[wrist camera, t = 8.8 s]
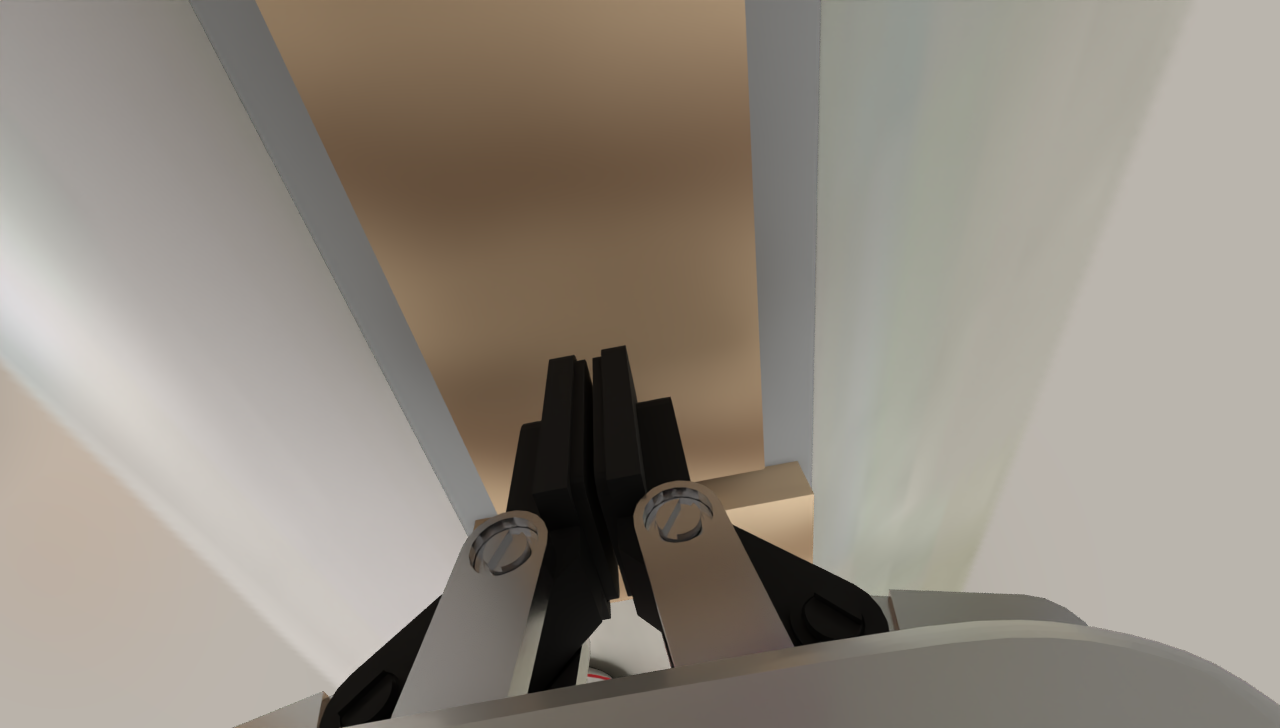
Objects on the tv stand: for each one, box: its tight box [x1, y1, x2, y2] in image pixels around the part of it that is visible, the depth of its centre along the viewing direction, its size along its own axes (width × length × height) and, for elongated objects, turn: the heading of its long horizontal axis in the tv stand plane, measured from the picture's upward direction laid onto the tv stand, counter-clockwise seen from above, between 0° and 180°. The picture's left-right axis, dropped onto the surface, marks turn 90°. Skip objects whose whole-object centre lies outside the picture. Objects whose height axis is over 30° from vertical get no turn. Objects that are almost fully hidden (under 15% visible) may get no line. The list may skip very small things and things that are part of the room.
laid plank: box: [473, 461, 814, 603], centre depth 18 cm, size 4×11×2 cm, turn 99°
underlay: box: [189, 0, 821, 536], centre depth 12 cm, size 28×12×1 cm, turn 10°
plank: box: [255, 0, 765, 515], centre depth 11 cm, size 21×8×2 cm, turn 10°
